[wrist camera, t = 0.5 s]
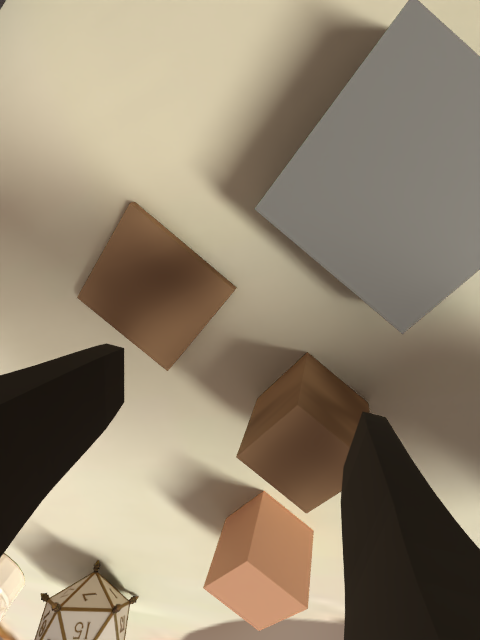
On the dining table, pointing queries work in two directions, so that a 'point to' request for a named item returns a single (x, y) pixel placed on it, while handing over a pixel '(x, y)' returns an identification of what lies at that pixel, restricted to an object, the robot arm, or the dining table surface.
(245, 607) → the terracotta block
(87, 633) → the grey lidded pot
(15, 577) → the white cylinder
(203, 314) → the tile
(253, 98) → the dining table surface
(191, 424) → the dining table surface
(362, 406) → the walnut block
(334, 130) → the base block
